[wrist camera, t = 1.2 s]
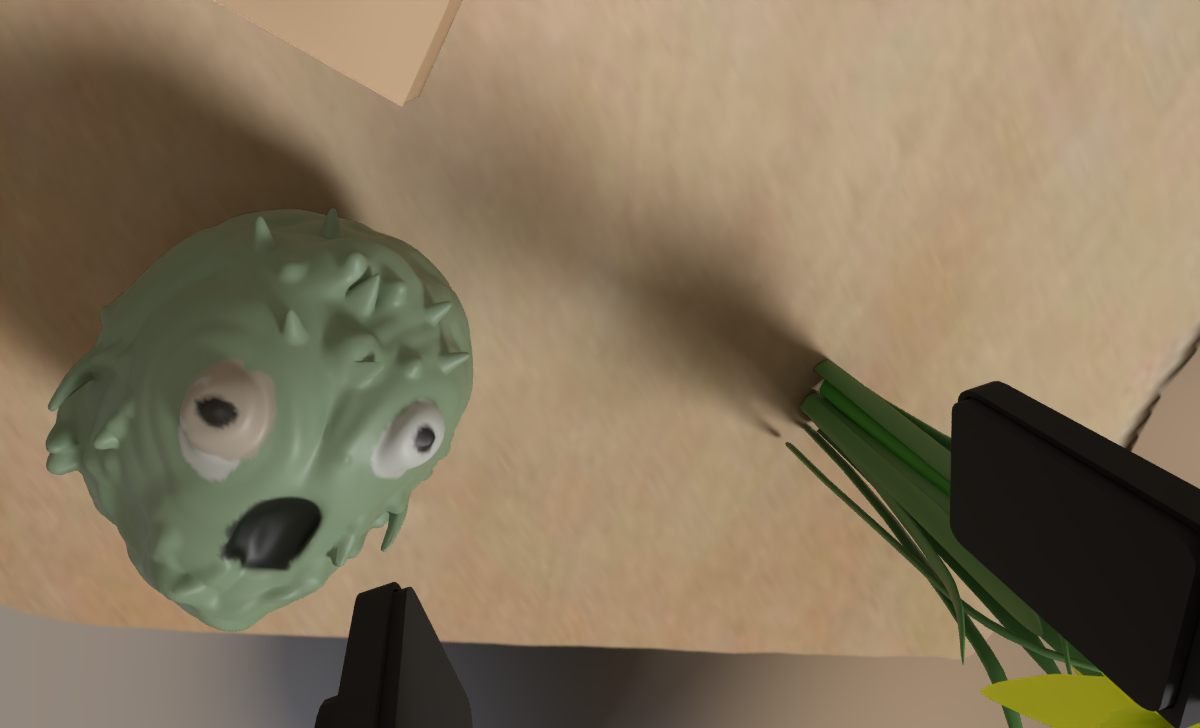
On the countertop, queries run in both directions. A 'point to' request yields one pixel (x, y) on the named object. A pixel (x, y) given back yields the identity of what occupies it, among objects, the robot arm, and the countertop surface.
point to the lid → (354, 35)
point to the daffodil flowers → (955, 554)
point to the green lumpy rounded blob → (264, 406)
